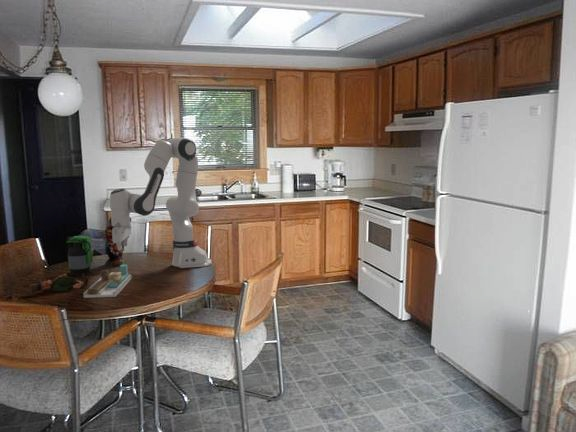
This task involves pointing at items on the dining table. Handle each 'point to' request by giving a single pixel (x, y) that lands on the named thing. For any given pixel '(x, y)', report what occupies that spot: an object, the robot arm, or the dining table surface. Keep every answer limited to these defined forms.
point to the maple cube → (115, 277)
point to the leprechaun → (59, 284)
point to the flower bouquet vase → (113, 249)
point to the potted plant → (79, 254)
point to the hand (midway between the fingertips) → (122, 247)
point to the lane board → (107, 289)
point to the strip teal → (123, 274)
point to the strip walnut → (100, 282)
